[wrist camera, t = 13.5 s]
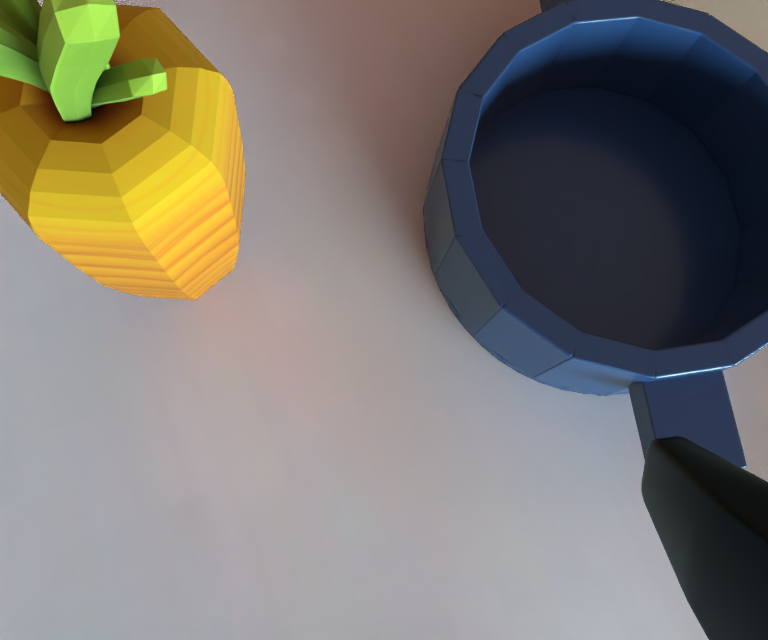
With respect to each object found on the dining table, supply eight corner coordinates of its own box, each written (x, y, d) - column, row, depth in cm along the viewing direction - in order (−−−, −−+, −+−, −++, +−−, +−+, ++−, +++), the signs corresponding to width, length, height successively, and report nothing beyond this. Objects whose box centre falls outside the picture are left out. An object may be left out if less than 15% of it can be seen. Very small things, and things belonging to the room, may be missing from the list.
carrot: (98, 227, 24) (-262, -186, 9) (245, 183, 24) (133, -264, 10) (141, 370, 23) (-181, 166, 8) (293, 320, 24) (246, 50, 9)
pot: (471, 505, 23) (506, 510, 18) (386, 24, 26) (398, -66, 22) (813, 448, 24) (920, 440, 20) (688, -3, 28) (755, -93, 23)
